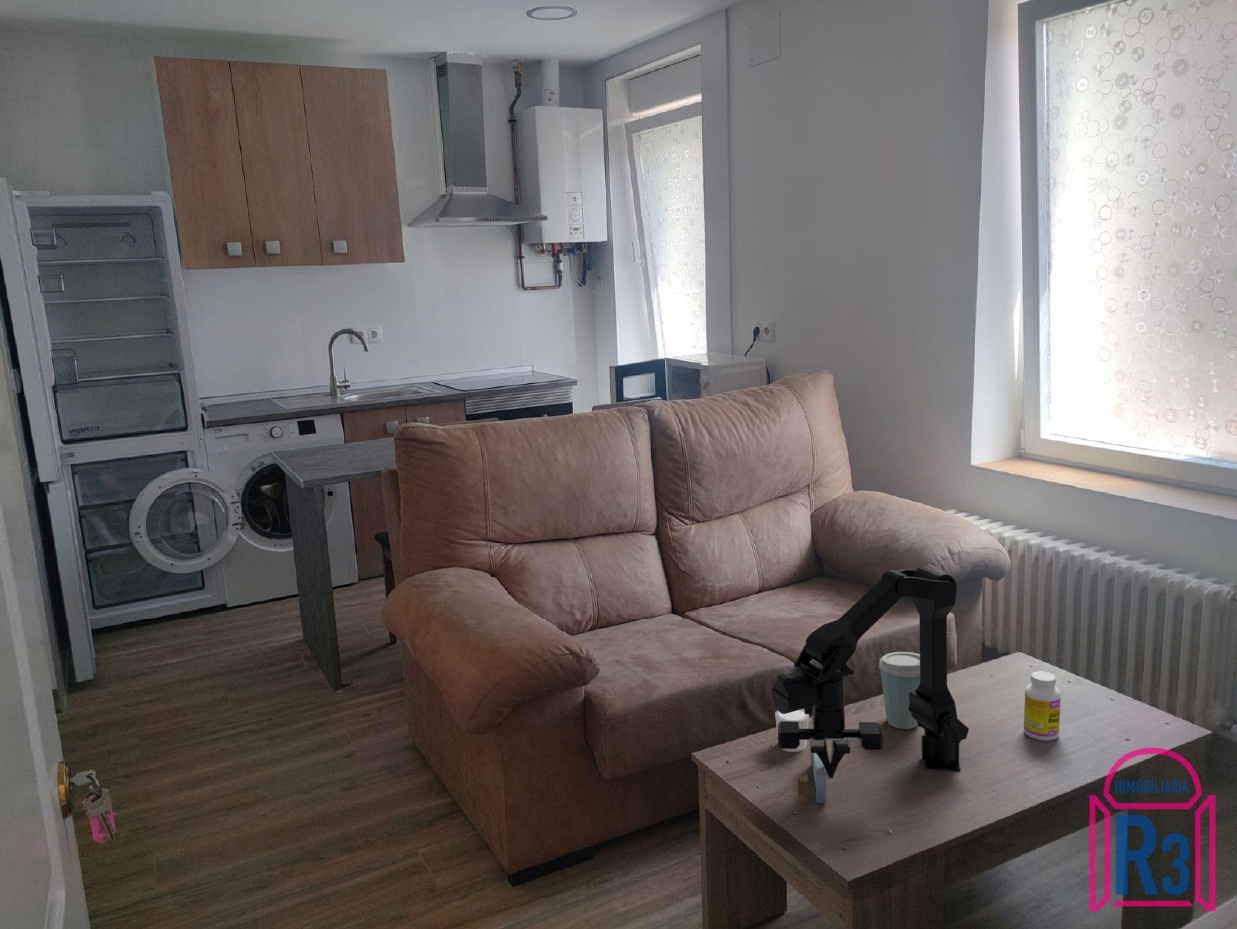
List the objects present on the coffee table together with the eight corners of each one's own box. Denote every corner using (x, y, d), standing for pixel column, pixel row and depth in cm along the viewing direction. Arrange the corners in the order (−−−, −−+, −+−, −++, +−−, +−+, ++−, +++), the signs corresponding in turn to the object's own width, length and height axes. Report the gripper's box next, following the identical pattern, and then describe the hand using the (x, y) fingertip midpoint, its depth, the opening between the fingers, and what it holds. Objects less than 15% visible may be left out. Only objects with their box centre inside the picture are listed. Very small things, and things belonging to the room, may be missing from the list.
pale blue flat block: (810, 762, 184) (809, 732, 183) (821, 762, 184) (821, 732, 183) (815, 804, 169) (815, 772, 168) (827, 804, 169) (827, 772, 168)
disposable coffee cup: (867, 719, 201) (867, 654, 198) (903, 706, 206) (903, 643, 203) (904, 739, 192) (904, 671, 189) (941, 725, 197) (941, 658, 194)
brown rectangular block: (808, 799, 172) (808, 774, 171) (808, 804, 170) (808, 779, 169) (799, 798, 172) (798, 774, 171) (798, 804, 170) (798, 779, 169)
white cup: (809, 754, 188) (808, 722, 186) (775, 752, 189) (774, 721, 188) (809, 738, 194) (808, 707, 193) (776, 736, 196) (775, 705, 194)
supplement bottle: (1050, 745, 186) (1052, 685, 184) (1017, 734, 191) (1019, 676, 188) (1064, 733, 190) (1067, 675, 188) (1032, 723, 195) (1034, 666, 193)
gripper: (876, 680, 175) (877, 755, 178) (776, 680, 178) (779, 754, 182) (882, 708, 164) (884, 787, 167) (776, 707, 168) (779, 785, 171)
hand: (830, 777), depth 172 cm, fingers closed
